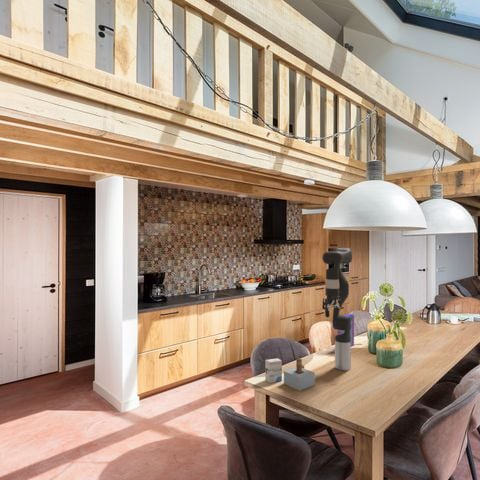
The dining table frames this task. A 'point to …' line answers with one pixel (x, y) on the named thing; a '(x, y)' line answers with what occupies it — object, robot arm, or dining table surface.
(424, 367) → the dining table surface
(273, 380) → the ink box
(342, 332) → the cereal box
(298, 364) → the long pin
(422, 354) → the dining table surface
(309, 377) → the hole block
